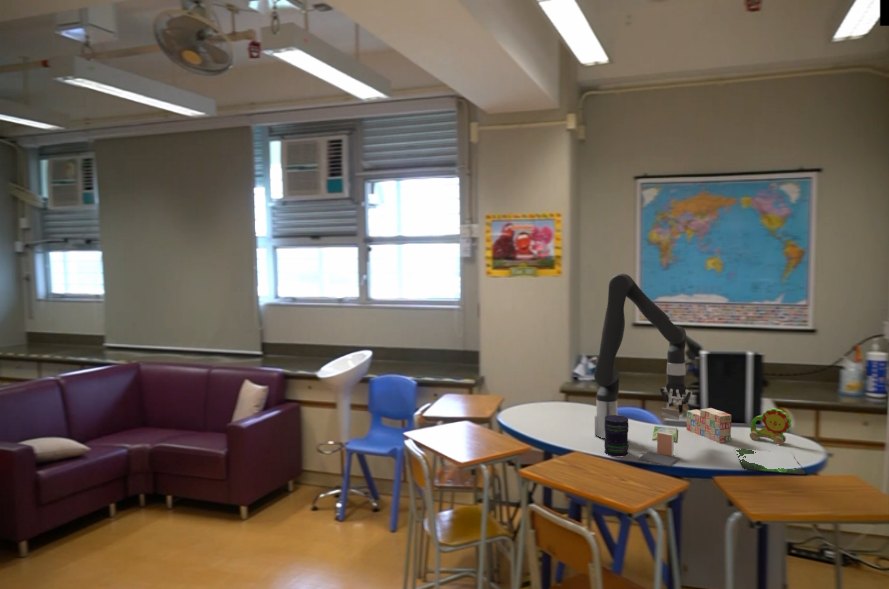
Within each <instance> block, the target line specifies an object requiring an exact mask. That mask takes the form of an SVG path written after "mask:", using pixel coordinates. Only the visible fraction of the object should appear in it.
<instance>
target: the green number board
mask: <svg viewBox="0 0 889 589" xmlns="http://www.w3.org/2000/svg"><path fill="white" fill-rule="evenodd" d="M658 432H664V433H669V434H673V443H677V436H678V433H677V432H678V428H677V427H670V426H658V425H657V426H655V425H654V428H653V433H652V441H654V440H657V433H658Z"/></svg>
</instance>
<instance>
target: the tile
mask: <svg viewBox="0 0 889 589" xmlns="http://www.w3.org/2000/svg"><path fill="white" fill-rule="evenodd" d="M656 445H657V448H656V449H657V450H656V451H657V452H656V453H659V454H664V455H668V456H673V457H674V442H673V434H669V433H664V432H658V433H657V444H656Z"/></svg>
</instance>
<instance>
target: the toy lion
mask: <svg viewBox="0 0 889 589" xmlns="http://www.w3.org/2000/svg"><path fill="white" fill-rule="evenodd" d="M758 421H761V422H762V423H763V424H764V427H763V428H761V429H758V428H756V427H757V426H756V423H757V422H758ZM790 428H792V419H791V417H790V416H789V414H788V413H787V412H784V410H782V409H778V408H776V407H773V408H771V409H770V408H769V409H767V410H766V411H765V412H763V413H762V415H757V416H755V417H754V418H753V419H752V420H751V422H750V433H749V438H750V440H753V441H757V440H758V439H760V438H767V439H769V440H772V441H773V443H774V444H775V445H776V444H779V445H778V446H781V445H783V443H786V440H787V437H786V436H785V435H784V434H785V433H787V432H788V431H789V430H790Z"/></svg>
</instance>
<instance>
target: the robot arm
mask: <svg viewBox="0 0 889 589" xmlns="http://www.w3.org/2000/svg"><path fill="white" fill-rule="evenodd" d="M607 296H608V297H607V307H606V309H605V310H606V311H605V316H604V320H603V321H604V322H603V325H602V332H601V339H600V346H599V353H598V359H597V362H596V365H595V369H594V372H593V377H594V381H595V383H596V384H597V385H598V390H597V392H596V398H595V399H596V415H594V436H595V435H597V436H599V437H602V438H605V429H604V428H605V427H604V423H605V417H606V416H609V415H618V395H619V392H620V391H619V390H620V374H619V370H618V368H617V367H616V366H615V360H616V357H617V354H618V351H619V349H620V346H621V345H622V342H623V339H624V333H625V326H626V322H625V321H626V318H625V310H624V309H625V303H626V300H627V299H628V300H631V302H632V303H633V304H635V306H636V307H637V308H638V310H639V311H640V313H641V314H642V315H643V316H644V318H645V319H646V320H647V321H649V322H650V324H651V325H653V326H654V328H656V330H658V331H659V333H660V334H661V335H662V336H663V338H664V339H665V340H666V341H667V342H669V346H668V350H667V361H666V362H667V363H666V385H665V387H664V386H663V387H660V389H659V390H660V393H661V396H662V398H663V400H664V402H666V403H668V408H669V407H671V406H673V405H674V404H675V403H674V399H675V397H676V398H677V400H678V402H679V405H678V407H679V413H680V414H681V413H682V412H683V404H686V403H689V402H690V399H691V397H692V395H693V390H689V389H687V386H686V382H687V381H686V378H687V377H686V372H687V371H686V355H685V353H686V344H687V332H686V329H684V327H682V326H681V325H676V324H674V323H673V322H672V321H671V319H670V317H669V315H668V314H666V313H665V312H664V311H663V310H662V309H661V308H660V307H659V306H658V305H657V304H655V302H654V301H652V300H651V299H650V298H649V297H648V296H647V295H646V294H645V293H644V292H643V290H641V288H640V287H639V286H638V284H637V283H636V282H635V281H634V279H633V277H631V276H630V275H629V274H626V273H618V274H615V275H614V276H612V277H611V278H610V280H609V283H608V294H607ZM626 298H627V299H626ZM667 392H668V393H669V394H668V393H667ZM684 394H685V398H684ZM668 395H669V396H668ZM681 415H682V414H681ZM597 436H596V437H597ZM599 437H598V438H599ZM602 438H601V439H602Z"/></svg>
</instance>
